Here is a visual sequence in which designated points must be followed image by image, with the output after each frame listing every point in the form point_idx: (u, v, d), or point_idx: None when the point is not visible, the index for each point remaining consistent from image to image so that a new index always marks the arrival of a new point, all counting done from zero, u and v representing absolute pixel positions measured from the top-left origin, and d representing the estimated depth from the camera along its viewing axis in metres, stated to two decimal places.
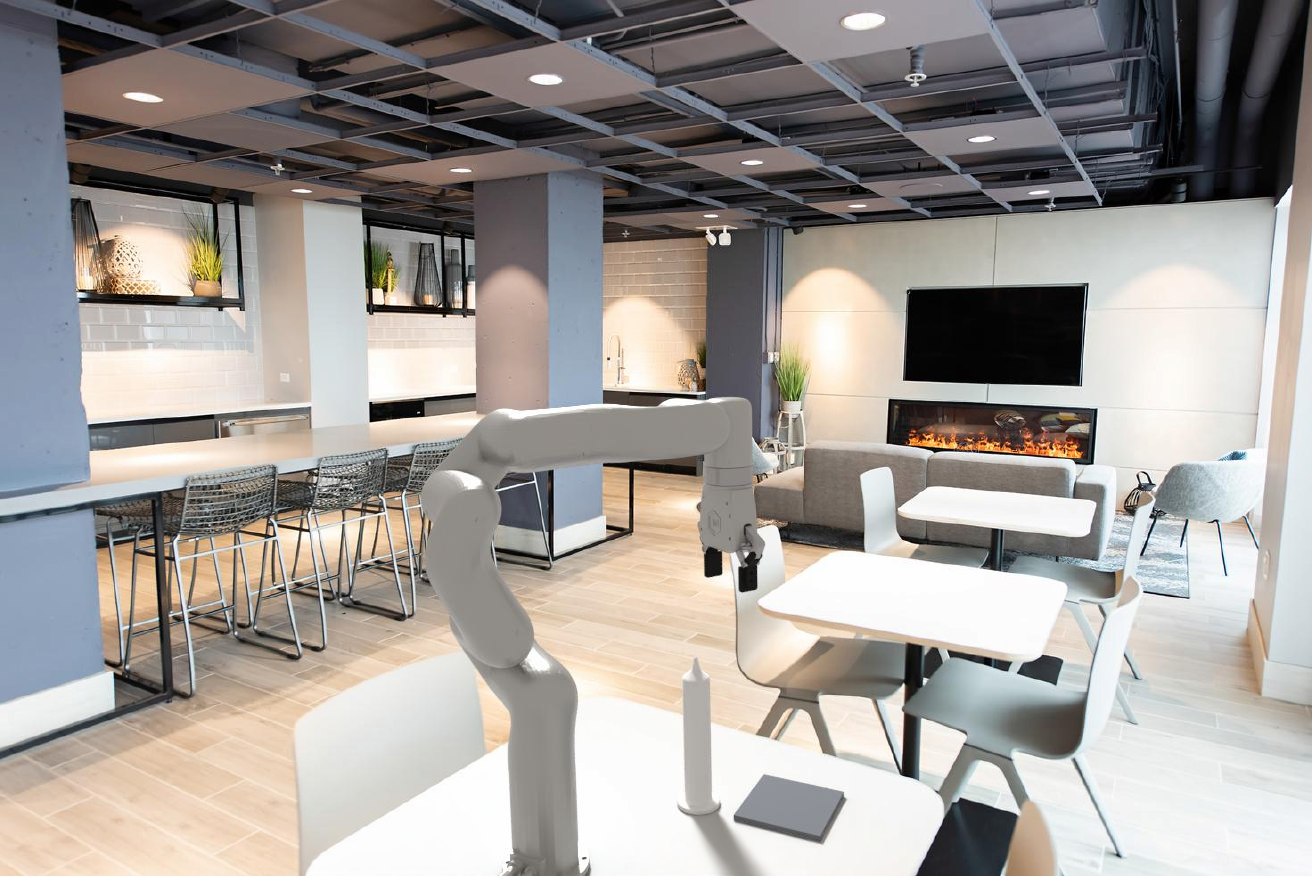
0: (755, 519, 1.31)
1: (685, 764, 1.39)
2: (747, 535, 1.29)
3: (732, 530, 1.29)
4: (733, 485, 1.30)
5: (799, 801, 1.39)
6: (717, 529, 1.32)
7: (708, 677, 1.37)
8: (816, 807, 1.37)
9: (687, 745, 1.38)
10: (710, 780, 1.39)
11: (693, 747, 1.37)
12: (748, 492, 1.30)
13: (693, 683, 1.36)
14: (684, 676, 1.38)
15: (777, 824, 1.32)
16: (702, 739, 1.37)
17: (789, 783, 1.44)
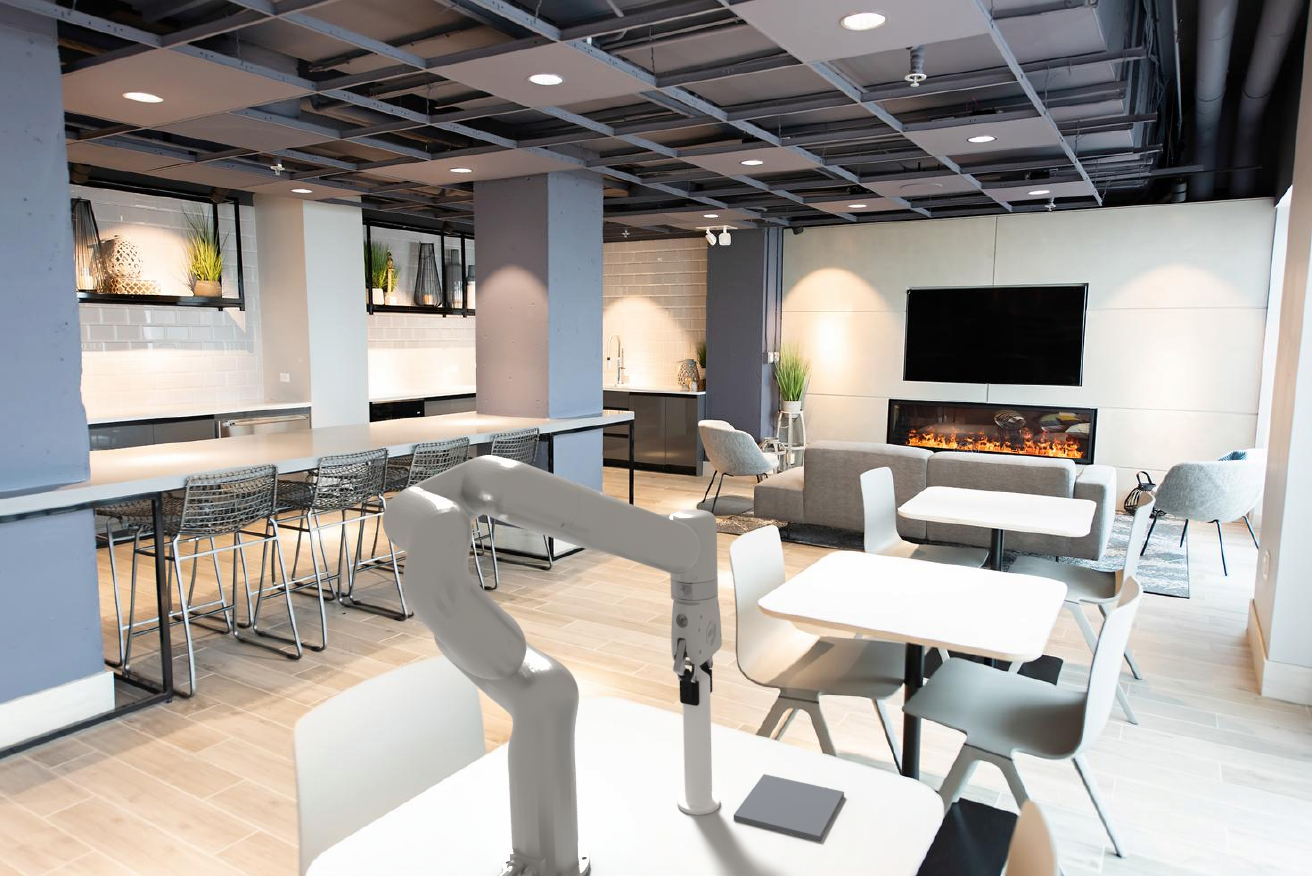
0: None
1: (685, 764, 1.39)
2: None
3: (720, 625, 1.40)
4: None
5: (799, 801, 1.39)
6: (712, 637, 1.37)
7: (708, 677, 1.37)
8: (816, 807, 1.37)
9: (687, 745, 1.38)
10: (710, 780, 1.39)
11: (693, 747, 1.37)
12: None
13: None
14: None
15: (777, 824, 1.32)
16: (702, 739, 1.37)
17: (789, 783, 1.44)
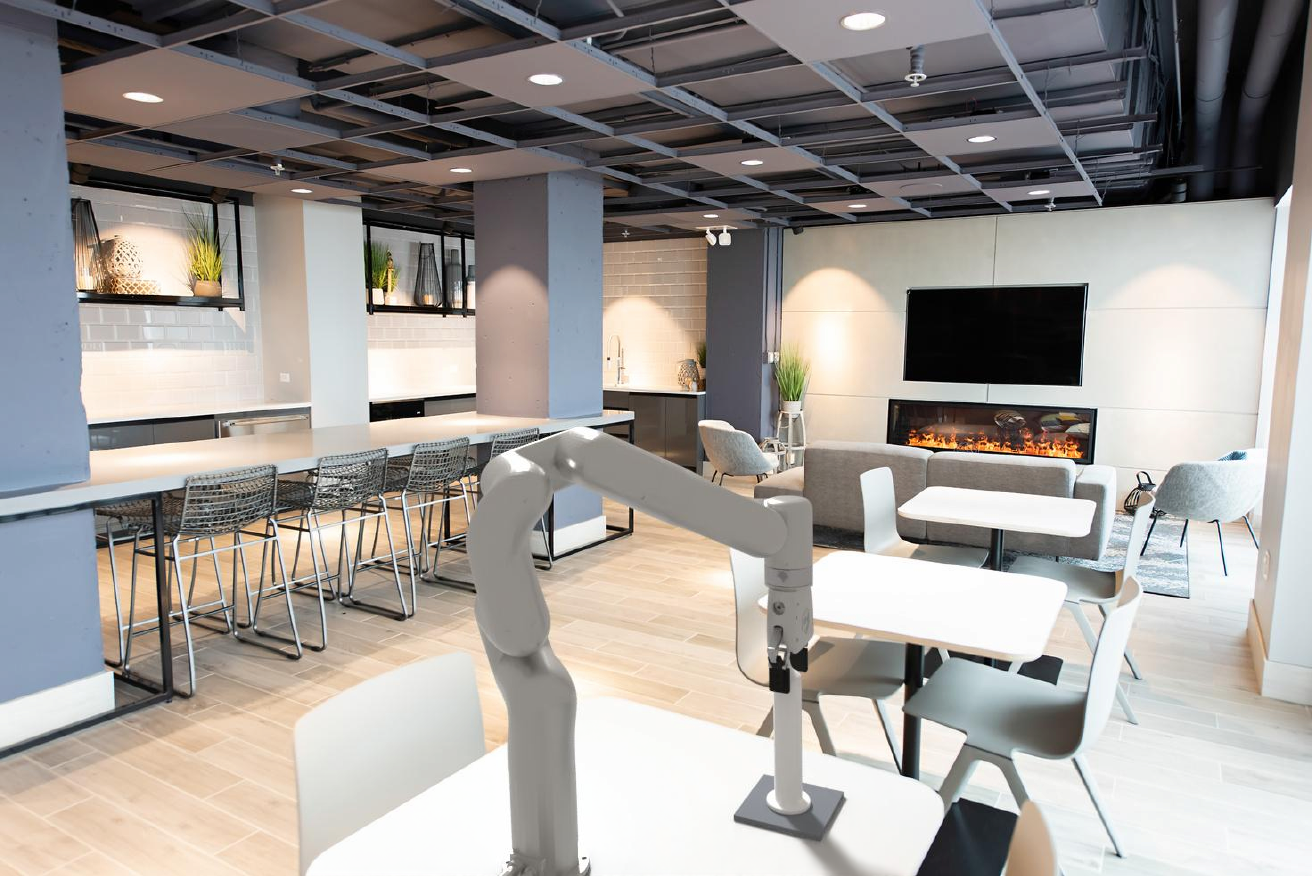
0: None
1: (776, 764, 1.36)
2: None
3: (812, 613, 1.38)
4: None
5: None
6: (806, 625, 1.34)
7: (800, 675, 1.35)
8: (816, 807, 1.37)
9: (779, 744, 1.35)
10: (801, 780, 1.36)
11: (785, 746, 1.35)
12: None
13: None
14: None
15: (777, 824, 1.32)
16: (794, 738, 1.35)
17: None
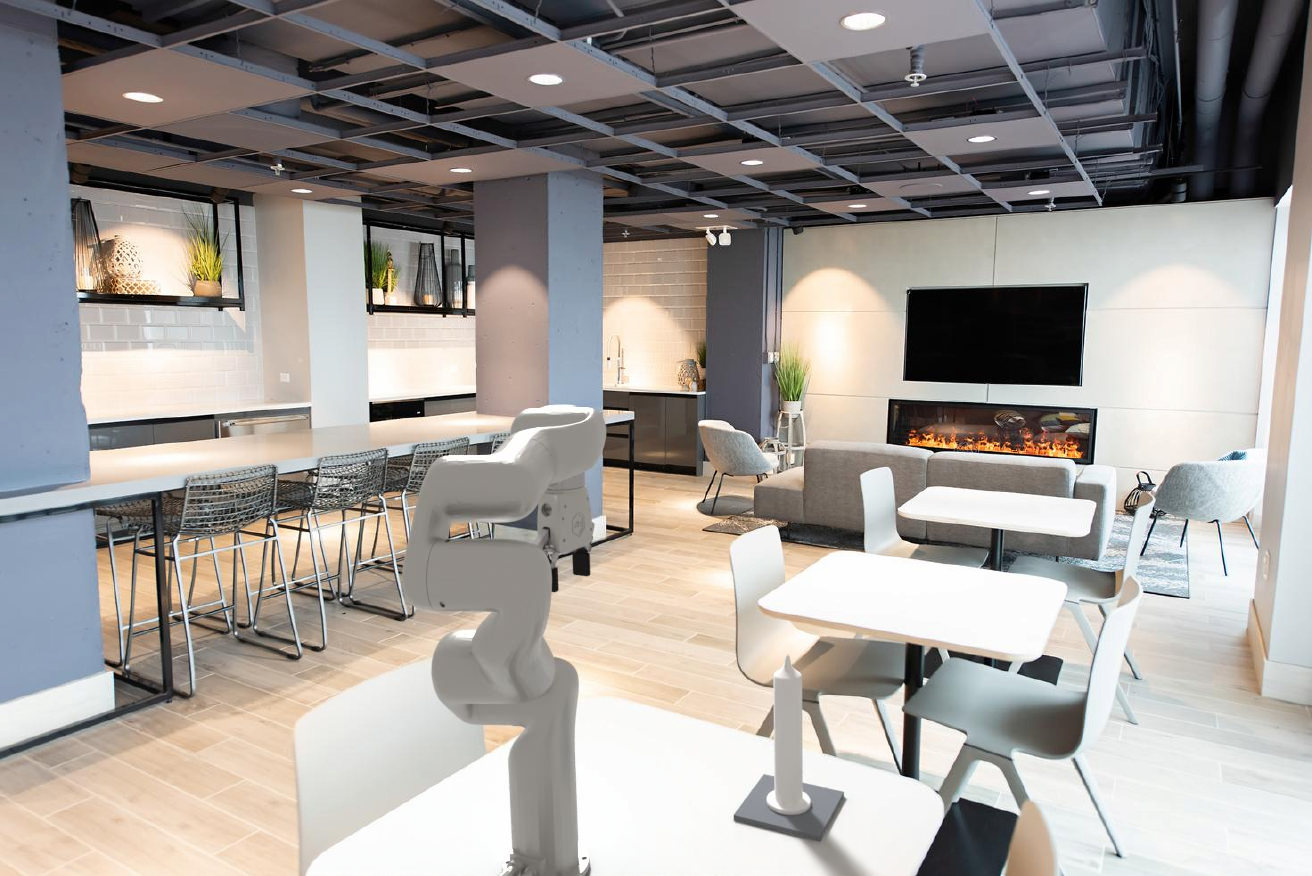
0: None
1: (776, 764, 1.36)
2: None
3: (591, 520, 1.43)
4: None
5: None
6: (580, 529, 1.40)
7: (800, 675, 1.35)
8: (816, 807, 1.37)
9: (779, 744, 1.36)
10: (801, 780, 1.37)
11: (785, 746, 1.35)
12: None
13: (786, 681, 1.34)
14: (776, 674, 1.35)
15: (777, 824, 1.32)
16: (795, 738, 1.35)
17: None
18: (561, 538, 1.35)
